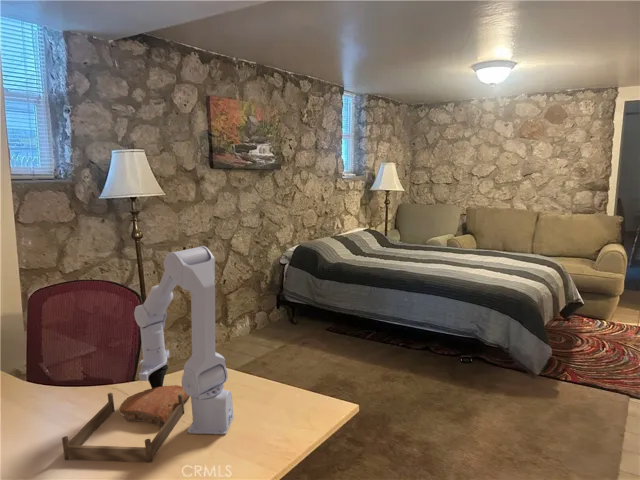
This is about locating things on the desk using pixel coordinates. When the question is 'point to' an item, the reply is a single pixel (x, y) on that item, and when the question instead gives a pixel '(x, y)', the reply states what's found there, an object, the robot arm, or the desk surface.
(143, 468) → the desk surface
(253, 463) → the desk surface
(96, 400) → the desk surface
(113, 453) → the wooden square frame
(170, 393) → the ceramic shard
